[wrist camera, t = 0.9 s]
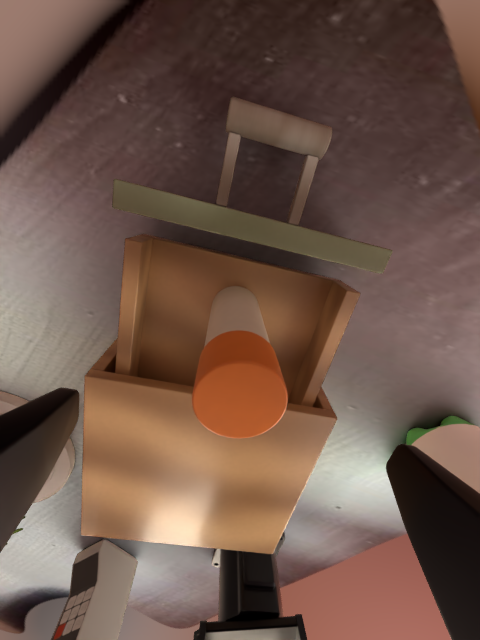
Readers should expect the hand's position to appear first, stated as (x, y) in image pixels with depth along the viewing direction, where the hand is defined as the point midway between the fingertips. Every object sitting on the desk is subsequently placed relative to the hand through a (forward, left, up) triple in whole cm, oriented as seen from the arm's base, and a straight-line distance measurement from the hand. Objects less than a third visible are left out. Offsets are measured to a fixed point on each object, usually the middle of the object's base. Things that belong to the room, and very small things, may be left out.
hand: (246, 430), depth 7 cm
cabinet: (-11, 0, -11) cm, 16 cm away
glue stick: (0, 0, -10) cm, 10 cm away
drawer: (+1, 0, -11) cm, 11 cm away
